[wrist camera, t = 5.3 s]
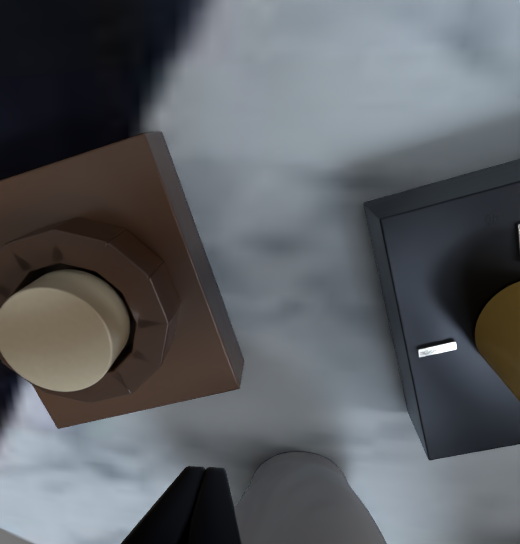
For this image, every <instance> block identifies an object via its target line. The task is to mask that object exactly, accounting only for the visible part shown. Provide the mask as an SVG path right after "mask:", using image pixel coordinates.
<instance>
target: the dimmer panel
mask: <svg viewBox="0 0 520 544" xmlns="http://www.w3.org/2000/svg"><path fill="white" fill-rule="evenodd" d="M364 208H365V213H366V217H367V222H368V227H369V231H370V236H371V241H372V245H373V250H374V255H375V259H376V264H377V269H378V273H379V278H380V283H381V287H382V292H383V297H384V301H385V306H386V310H387V315H388V320H389V324H390V329H391V334H392V338H393V343H394V348H395V352H396V357H397V362H398V366H399V371H400V376H401V380H402V385H403V390H404V394H405V399H406V404H407V408H408V413H409V416H410V418H411V420H412V423H413V425H414V427H415V430H416V432H417V434H418V437H419V439H420V441H421V444H422V446H423V448H424V451H425V453H426V455H427V458H428V459H429V460H434V459H440V458H445V457H451V456H456V455H462V454H467V453H473V452H478V451H484V450H490V449H495V448H501V447H506V446H512V445H517V444H520V402H519V401H518V399H517V398H516V397H515V396H514V395H513V393H512V392H511V391H510V390H509V389H508V387H507V386H506V385H505V384H504V383H503V382H502V380H501V379H500V378H499V377H498V376H497V374H496V373H495V372H494V371H493V370H492V368H491V367H490V366H489V365H488V364H487V362H486V361H485V360H484V359H483V358H482V356H481V355H480V353H479V352H478V349H477V347H476V342H475V327H476V323H477V320H478V318H479V315H480V313H481V312H482V310H483V308H484V307H485V306H486V304H487V303H488V302H489V301H490V300H491V299H492V298H493V297H494V296H495V295H496V294H497V293H499V292H500V291H502V290H503V289H504V288H506V287H508V286H510V285H512V284H514V283H517V282H519V281H520V159H519V160H515V161H512V162H508V163H505V164H501V165H497V166H494V167H490V168H487V169H483V170H479V171H476V172H472V173H469V174H465V175H462V176H458V177H454V178H451V179H447V180H444V181H440V182H436V183H433V184H429V185H426V186H422V187H419V188H415V189H411V190H408V191H404V192H401V193H397V194H393V195H390V196H386V197H383V198H379V199H376V200H372V201H368V202H365V203H364Z"/></svg>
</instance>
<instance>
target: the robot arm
mask: <svg viewBox="0 0 520 544" xmlns="http://www.w3.org/2000/svg"><path fill="white" fill-rule="evenodd" d="M121 544H242V542H241V538H240V533H239V529H238V524H237V519H236V515H235V510H234V506H233V501H232V497H231V492H230V487H229V483H228V478H227V474H226V470H225V469H224V468H216V467H208V468H207V469H205V468H204V467H195V466H188V467H186V468H185V469H184V470H183V471H182V472H181V473H180V475H179V476H178V477H177V478H176V479H175V480H174V482H173V483H172V484H171V485H170V486H169V488H168V489H167V490H166V491H165V492H164V493H163V495H162V496H161V497H160V498H159V499H158V501H157V502H156V503H155V504H154V505H153V506H152V508H151V509H150V510H149V511H148V512H147V513H146V515H145V516H144V517H143V518H142V519H141V521H140V522H139V523H138V524H137V525H136V526H135V528H134V529H133V530H132V531H131V532H130V534H129V535H128V536H127V537H126V538H125V539H124V541H123V542H122V543H121Z"/></svg>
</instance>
